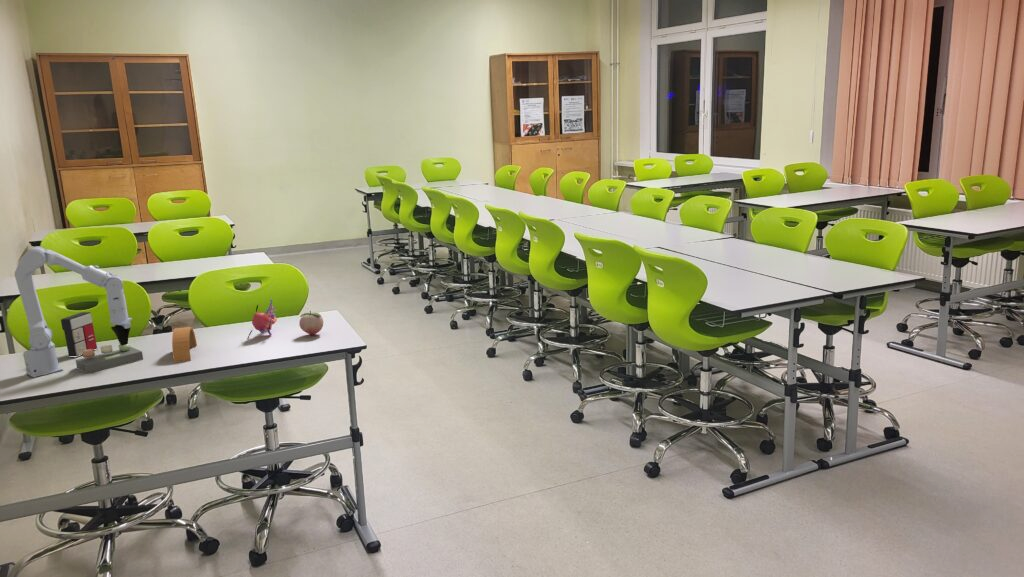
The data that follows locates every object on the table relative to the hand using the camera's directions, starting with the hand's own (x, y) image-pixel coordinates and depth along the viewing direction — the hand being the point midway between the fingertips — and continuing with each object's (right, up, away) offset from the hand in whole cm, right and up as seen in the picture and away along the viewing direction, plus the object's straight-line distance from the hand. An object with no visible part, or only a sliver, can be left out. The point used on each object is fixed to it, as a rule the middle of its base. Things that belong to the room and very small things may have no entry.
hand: (124, 344), depth 270 cm
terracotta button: (-8, -3, -8) cm, 12 cm away
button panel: (-3, -7, -4) cm, 8 cm away
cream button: (-4, -2, -4) cm, 6 cm away
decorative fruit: (+64, +2, +21) cm, 67 cm away
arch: (+21, -4, +3) cm, 22 cm away
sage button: (0, -2, 0) cm, 2 cm away
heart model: (+43, +2, +25) cm, 50 cm away
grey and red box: (-21, -4, +11) cm, 24 cm away
